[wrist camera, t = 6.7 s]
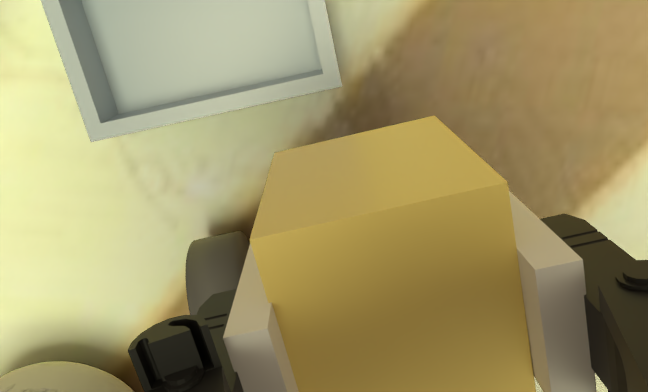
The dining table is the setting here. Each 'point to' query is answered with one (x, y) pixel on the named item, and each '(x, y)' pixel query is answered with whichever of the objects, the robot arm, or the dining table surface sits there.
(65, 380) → the teacup
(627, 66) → the dining table surface
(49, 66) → the dining table surface
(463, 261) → the block
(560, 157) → the dining table surface
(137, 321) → the dining table surface
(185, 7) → the tray
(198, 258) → the trolley
